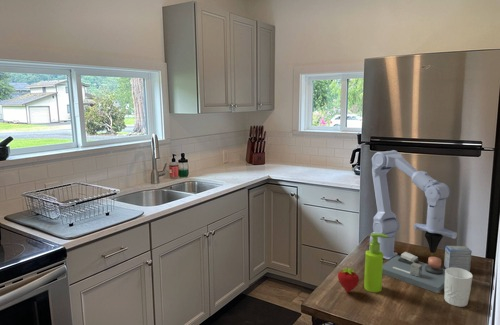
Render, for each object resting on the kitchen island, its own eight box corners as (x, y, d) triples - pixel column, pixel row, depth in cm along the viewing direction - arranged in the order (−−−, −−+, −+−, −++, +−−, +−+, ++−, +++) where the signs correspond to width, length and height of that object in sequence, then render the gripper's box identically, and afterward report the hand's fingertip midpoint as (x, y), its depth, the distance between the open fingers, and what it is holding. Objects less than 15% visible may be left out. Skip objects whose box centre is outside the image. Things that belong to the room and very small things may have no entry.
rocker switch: (400, 257, 149) (401, 254, 149) (404, 254, 152) (405, 251, 151) (413, 262, 146) (414, 259, 145) (417, 259, 148) (418, 257, 148)
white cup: (445, 292, 129) (448, 265, 128) (471, 300, 125) (474, 271, 123) (439, 302, 124) (442, 273, 122) (467, 310, 119) (470, 281, 117)
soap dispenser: (385, 293, 129) (388, 237, 126) (364, 291, 131) (367, 236, 127) (383, 285, 135) (386, 231, 132) (363, 283, 136) (365, 230, 133)
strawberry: (352, 299, 126) (353, 271, 124) (333, 291, 131) (334, 264, 130) (362, 293, 130) (363, 266, 128) (343, 285, 135) (344, 259, 133)
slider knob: (410, 273, 138) (410, 264, 138) (413, 271, 140) (413, 262, 139) (418, 276, 136) (419, 267, 135) (421, 274, 138) (422, 265, 137)
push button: (426, 265, 141) (426, 259, 140) (430, 261, 144) (431, 255, 143) (438, 269, 138) (438, 262, 137) (442, 265, 141) (443, 259, 140)
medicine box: (464, 266, 148) (466, 245, 147) (469, 272, 144) (472, 250, 143) (443, 266, 149) (445, 245, 148) (448, 271, 145) (450, 249, 143)
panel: (377, 272, 145) (378, 264, 144) (397, 259, 156) (397, 252, 155) (438, 293, 129) (438, 285, 128) (454, 277, 140) (455, 269, 139)
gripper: (410, 214, 140) (408, 249, 142) (452, 223, 129) (449, 261, 132) (419, 210, 145) (416, 244, 147) (460, 219, 134) (457, 255, 136)
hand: (433, 251), depth 140 cm, fingers closed
